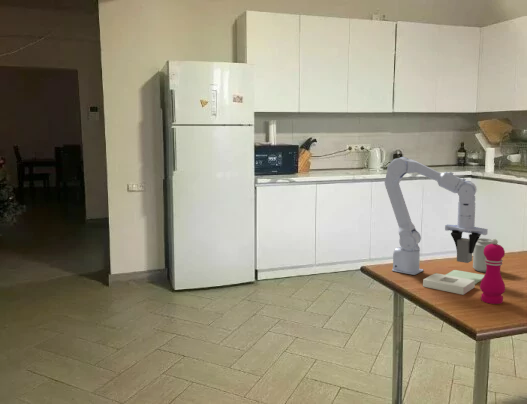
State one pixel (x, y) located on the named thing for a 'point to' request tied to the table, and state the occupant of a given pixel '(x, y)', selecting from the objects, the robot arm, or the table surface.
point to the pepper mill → (493, 274)
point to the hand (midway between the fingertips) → (465, 251)
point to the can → (480, 254)
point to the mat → (466, 275)
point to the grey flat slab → (449, 283)
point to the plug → (463, 250)
